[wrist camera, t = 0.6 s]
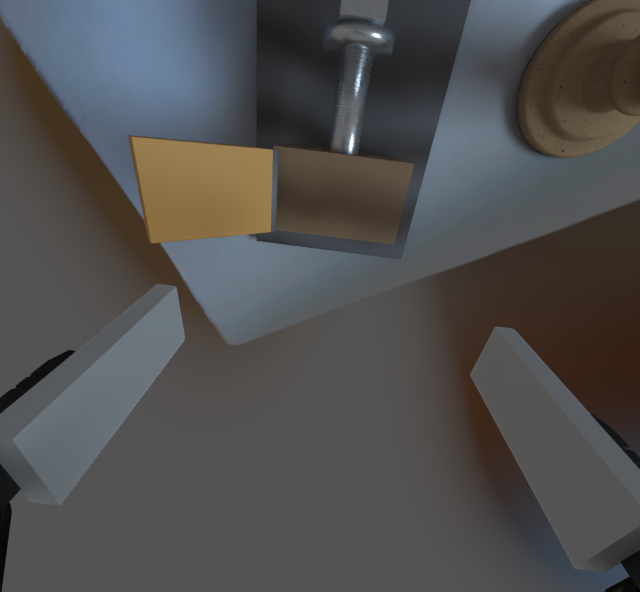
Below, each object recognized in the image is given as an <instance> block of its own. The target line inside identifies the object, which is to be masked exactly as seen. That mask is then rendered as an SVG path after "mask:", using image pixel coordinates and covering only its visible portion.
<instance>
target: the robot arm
mask: <svg viewBox="0 0 640 592" xmlns="http://www.w3.org/2000/svg"><path fill="white" fill-rule="evenodd" d="M184 340H185V336H184V329H183V324H182V319H181V312H180V306H179V300H178V294H177V288H176V286H169V285H161V284H157V285H156V286H155V287H153V288H152V289H151V290H150V291H149V292H147V293H146V294H145V295H144V296H142V297H141V298H140V299H139V300H138V301H137V302H135V303H134V304H133V305H132V306H130V307H129V308H128V309H127V310H126V311H124V312H123V313H122V314H121V315H119V316H118V317H117V318H116V319H115V320H113V321H112V322H111V323H110V324H109V325H108V326H106V327H105V328H104V329H103V330H101V331H100V332H99V333H98V334H96V335H95V336H94V337H93V338H92V339H90V340H89V341H88V342H87V343H86V344H84V345H83V346H82V347H81V348H79V349H78V350H77V351H72V350H68V351H66V352H64V353H62V354H60V355H58V356H56V357H54V358H52V359H50V360H48V361H47V362H46V363H44V364H43V365H42V366H40V367H39V368H38V369H37V370H35V371H34V372H33V373H32V374H31V375H30V377H26V378H25V379H24V380H22V381H21V382H20V383H19V384H17V385H16V388H15V389H11V390H10V391H8V392H7V393H6V394H4V395H3V396H2V397H1V398H0V592H2V584H3V576H4V568H5V561H6V553H7V545H8V537H9V530H10V522H11V514H12V510H11V505H10V503H9V501H10V500H11V499H12V498H13V497H14V496H15V495H16V494H17V493H18V492H19V490H21V491H22V492H23V494H24V495H25V496H26V497H27V499H28V500H29V501H30V502H37V503H45V504H54V505H61V504H62V502H63V501H64V500H65V498H66V497H67V496H68V494H69V493H70V491H71V490H72V489H73V488H74V486H75V485H76V484H77V482H78V481H79V480H80V478H81V477H82V476H83V474H84V473H85V472H86V470H87V469H88V468H89V466H90V465H91V464H92V462H93V461H94V460H95V458H96V457H97V456H98V455H99V453H100V452H101V451H102V449H103V448H104V446H105V445H106V444H107V443H108V441H109V440H110V439H111V437H112V436H113V435H114V433H115V432H116V430H117V429H118V428H119V427H120V425H121V424H122V423H123V421H124V420H125V419H126V417H127V416H128V415H129V413H130V412H131V411H132V409H133V408H134V406H135V405H136V404H137V403H138V401H139V400H140V399H141V397H142V396H143V395H144V393H145V392H146V391H147V389H148V388H149V387H150V385H151V384H152V383H153V381H154V380H155V379H156V377H157V376H158V375H159V373H160V372H161V371H162V369H163V368H164V367H165V365H166V364H167V363H168V361H169V360H170V359H171V357H172V356H173V355H174V353H175V352H176V351H177V349H178V348H179V347H180V345H181V344H182V343H183V341H184ZM470 376H471V378H472V380H473V381H474V383H475V385H476V387H477V389H478V390H479V393H480V394H481V396H482V398H483V400H484V402H485V404H486V405H487V407H488V409H489V411H490V413H491V415H492V416H493V418H494V420H495V422H496V424H497V426H498V428H499V430H500V431H501V433H502V435H503V437H504V439H505V441H506V442H507V444H508V446H509V448H510V450H511V452H512V454H513V455H514V457H515V459H516V461H517V463H518V465H519V466H520V468H521V470H522V472H523V474H524V476H525V477H526V479H527V481H528V483H529V485H530V487H531V489H532V491H533V492H534V494H535V496H536V498H537V500H538V502H539V503H540V505H541V507H542V509H543V511H544V513H545V515H546V516H547V518H548V520H549V522H550V524H551V525H552V527H553V529H554V531H555V533H556V535H557V537H558V539H559V540H560V542H561V544H562V546H563V548H564V549H565V551H566V553H567V555H568V557H569V559H570V561H571V562H572V564H573V566H574V568H575V569H583V570H590V571H599V572H606V571H607V570H609V569H611V568H613V567H614V566H616V565H618V564H619V563H622V565H623V567H624V568H625V569H626V571H627V573H628V574H629V576H630V577H628V578H626V579H624V580H622V581H621V582H619V583H617V584H615V585H613V586H611V587H609V588H608V589H606V590H605V592H640V458H639V457H638V456H637V454H635V452H634V451H631V450H630V447H629V446H628V445H627V444H626V443H625V442H624V440H623V439H622V438H621V437H620V436H619V435H618V434H617V433H616V432H615V431H614V430H613V429H612V428H610V427H609V426H608V425H607V424H605V423H604V422H603V421H601V420H600V419H599V418H598V417H596V416H595V415H592V414H589V412H588V411H587V410H586V409H585V408H584V407H583V406H582V404H581V403H580V402H579V401H578V400H577V399H576V398H575V397H574V396H573V394H572V393H571V392H570V391H569V390H568V389H567V388H566V387H565V386H564V384H563V383H562V382H561V381H560V380H559V379H558V378H557V376H556V375H555V374H554V373H553V372H552V371H551V370H550V369H549V368H548V367H547V365H546V364H545V363H544V362H543V361H542V360H541V359H540V357H538V355H537V354H536V353H535V352H534V351H533V350H532V349H531V347H530V346H529V345H528V344H527V343H526V342H525V341H524V340H523V338H522V337H521V336H520V335H519V334H518V333H517V332H516V331H515V330H514V329H511V328H503V327H495V328H494V330H493V332H492V334H491V336H490V338H489V340H488V341H487V344H486V345H485V347H484V349H483V351H482V353H481V355H480V357H479V359H478V360H477V362H476V364H475V366H474V368H473V370H472V372H471V374H470Z"/></svg>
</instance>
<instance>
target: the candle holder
mask: <svg viewBox="0 0 640 592" xmlns="http://www.w3.org/2000/svg"><path fill="white" fill-rule="evenodd" d="M517 115H518V121H519V126H520V129H521V131H522V134H523V136H524V137H525V139H526V141H527V142H528V143H529V144H530V145H531V146H532V147H533V148H534V149H536V150H538V151H539V152H541V153H543V154H545V155H548V156H552V157H558V158H572V157H578V156H583V155H586V154H589V153H593V152H595V151H597V150H599V149H602V148H604V147H606V146H608V145H609V144H611V143H613V142H614V141H616V140H618V139H619V138H620V137H622V136H623V135H624V134H626V133H627V132H628V131H629V130H630V129H632V128H633V127H634V126H635V125H636V124H637V123H638V122H639V121H640V0H591V1H589V2H588V3H586V4H584V5H583V6H581V7H579V8H578V9H576V10H575V11H574V12H573V13H571V14H570V15H569V16H567V17H566V18H565V19H564V20H563V21H562V22H561V23H560V24H558V25H557V26H556V27H555V28H554V29H553V30H552V32H551V33H550V34H549V35H548V36H547V37H546V39H545V40H544V41H543V42H542V44H541V45H540V47H539V48H538V50H537V51H536V53H535V54H534V56H533V58H532V59H531V61H530V63H529V65H528V67H527V69H526V72H525V74H524V77H523V79H522V83H521V87H520V90H519V96H518V103H517Z"/></svg>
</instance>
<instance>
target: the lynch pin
mask: <svg viewBox="0 0 640 592" xmlns="http://www.w3.org/2000/svg"><path fill="white" fill-rule="evenodd" d="M388 2H389V0H341V8H340V21H335V22H332V23H329V24H327V25H326V26H325V27H324V36H323V48H324V50H326V51H327V52H329V53H331V54H333V55H336V56H339V57H340V58H339V67H338V76H337V84H336V93H335V102H334V111H333V120H332V129H331V137H330V146H329V152H336V153H343V154H351V155H358V149H359V143H360V137H361V130H362V124H363V118H364V111H365V105H366V99H367V92H368V86H369V80H370V73H371V67H372V61H377V60H384V59H387V58H389V57H391V56H392V52H393V47H394V41H395V34H394V33H393V32H392V31H391V30H389V29H388V28H386V27H383V25H384V23H385V20H386V14H387V8H388Z"/></svg>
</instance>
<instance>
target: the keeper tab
mask: <svg viewBox="0 0 640 592" xmlns="http://www.w3.org/2000/svg"><path fill="white" fill-rule="evenodd" d="M128 137H129V142H130V147H131V152H132V158H133V163H134V168H135V173H136V179H137V184H138V189H139V194H140V200H141V205H142V210H143V215H144V221H145V226H146V231H147V236H148V238H149V240H150V242H151V243H160V242H171V241H182V240H192V239H203V238H213V237H224V236H235V235H245V234H256V233H267V232H273V231H276V212H277V184H278V157H279V150H277V149H269V148H259V147H248V146H238V145H227V144H216V143H206V142H195V141H184V140H174V139H163V138H152V137H142V136H131V135H128Z"/></svg>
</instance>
